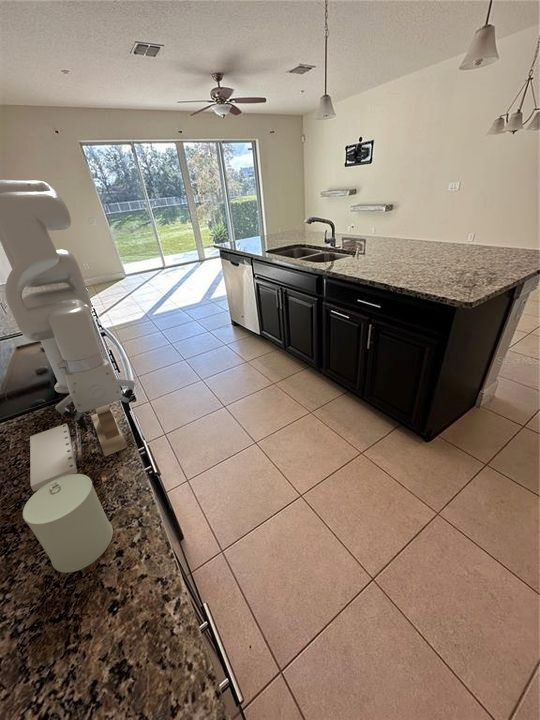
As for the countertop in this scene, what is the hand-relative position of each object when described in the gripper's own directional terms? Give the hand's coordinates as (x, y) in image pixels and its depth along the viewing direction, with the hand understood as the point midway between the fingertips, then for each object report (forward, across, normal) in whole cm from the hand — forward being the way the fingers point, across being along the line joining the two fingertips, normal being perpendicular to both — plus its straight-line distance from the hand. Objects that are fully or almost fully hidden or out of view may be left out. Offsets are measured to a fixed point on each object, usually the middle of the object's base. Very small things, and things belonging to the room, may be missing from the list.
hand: (107, 421), depth 76 cm
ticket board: (+3, -13, 0) cm, 13 cm away
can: (+4, -10, -29) cm, 31 cm away
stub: (+3, -1, 0) cm, 3 cm away
